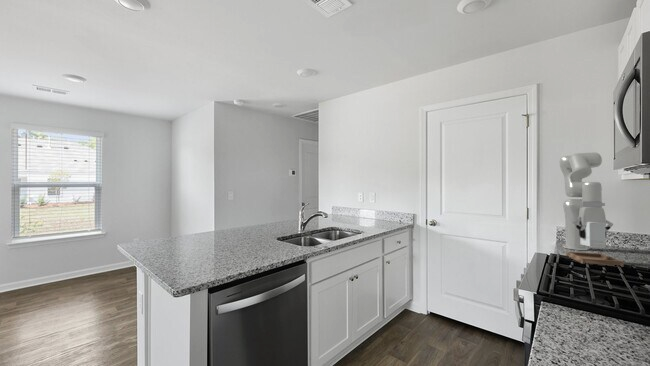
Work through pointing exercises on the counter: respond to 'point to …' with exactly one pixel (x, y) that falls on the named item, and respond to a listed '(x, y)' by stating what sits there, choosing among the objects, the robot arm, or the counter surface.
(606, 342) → the counter surface
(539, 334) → the counter surface
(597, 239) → the supplement box
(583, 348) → the counter surface
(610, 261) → the walnut tray
